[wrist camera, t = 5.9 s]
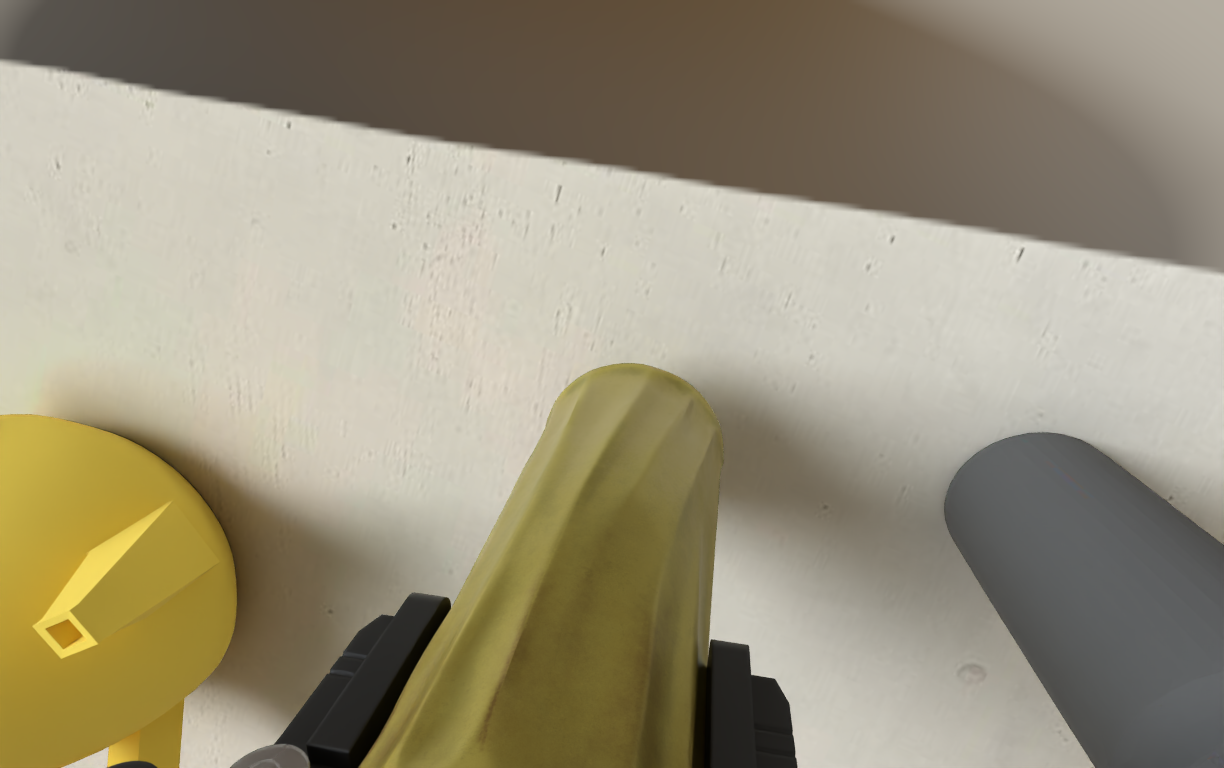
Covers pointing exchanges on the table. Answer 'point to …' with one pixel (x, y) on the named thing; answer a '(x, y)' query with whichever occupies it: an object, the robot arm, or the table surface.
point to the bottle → (1100, 596)
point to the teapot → (102, 596)
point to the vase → (582, 597)
